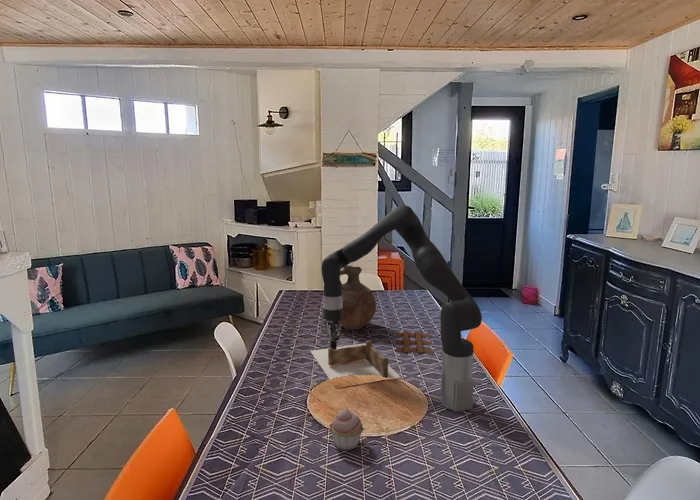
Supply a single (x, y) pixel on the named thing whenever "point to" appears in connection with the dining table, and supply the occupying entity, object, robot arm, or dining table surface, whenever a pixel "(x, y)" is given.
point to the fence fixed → (376, 359)
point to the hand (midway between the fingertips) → (333, 349)
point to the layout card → (348, 366)
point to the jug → (356, 300)
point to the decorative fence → (413, 342)
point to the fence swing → (346, 355)
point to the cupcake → (346, 430)
